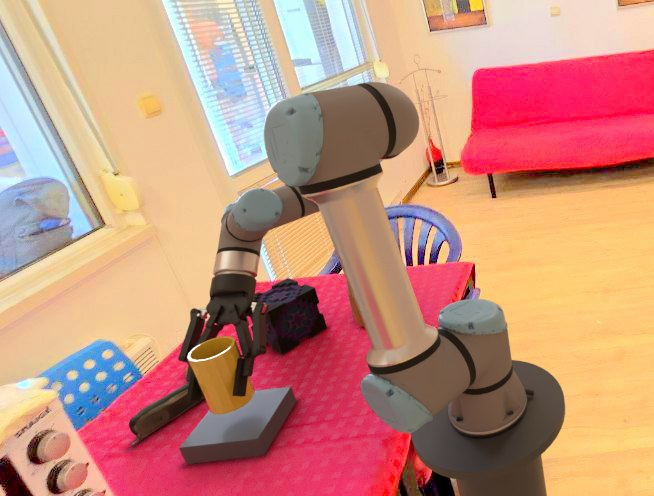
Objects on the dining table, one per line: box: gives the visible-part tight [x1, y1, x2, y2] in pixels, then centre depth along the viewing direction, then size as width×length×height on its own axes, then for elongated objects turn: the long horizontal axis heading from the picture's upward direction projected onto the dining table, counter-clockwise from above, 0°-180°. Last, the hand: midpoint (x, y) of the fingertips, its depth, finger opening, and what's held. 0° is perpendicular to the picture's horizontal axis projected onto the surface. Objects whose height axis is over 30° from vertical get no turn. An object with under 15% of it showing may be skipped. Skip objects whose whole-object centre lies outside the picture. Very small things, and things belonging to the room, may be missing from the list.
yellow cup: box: [187, 335, 256, 414], centre depth 97 cm, size 7×7×12 cm
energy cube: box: [247, 277, 328, 355], centre depth 130 cm, size 12×12×12 cm
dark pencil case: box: [128, 382, 205, 447], centre depth 106 cm, size 5×3×15 cm
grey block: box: [178, 386, 297, 465], centre depth 101 cm, size 14×14×4 cm
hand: (216, 398), depth 95 cm, fingers closed on yellow cup, 7 cm apart
